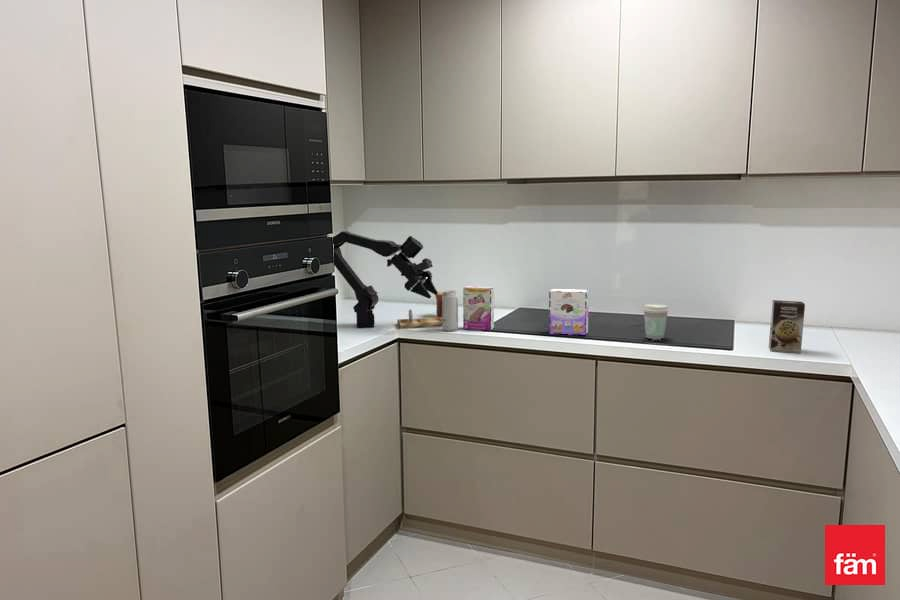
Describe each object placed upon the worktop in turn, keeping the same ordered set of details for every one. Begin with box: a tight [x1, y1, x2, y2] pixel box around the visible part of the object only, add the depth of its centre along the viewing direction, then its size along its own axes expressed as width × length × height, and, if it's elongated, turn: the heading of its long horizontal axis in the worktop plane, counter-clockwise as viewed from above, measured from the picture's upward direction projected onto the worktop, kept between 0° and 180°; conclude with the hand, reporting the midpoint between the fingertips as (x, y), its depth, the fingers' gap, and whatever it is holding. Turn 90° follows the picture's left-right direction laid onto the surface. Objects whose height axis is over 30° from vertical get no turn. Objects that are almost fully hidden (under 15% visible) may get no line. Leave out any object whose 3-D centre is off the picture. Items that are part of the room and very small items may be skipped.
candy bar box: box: [462, 285, 495, 332], centre depth 252 cm, size 11×5×16 cm, turn 72°
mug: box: [434, 291, 444, 318], centre depth 276 cm, size 12×9×10 cm
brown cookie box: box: [768, 299, 806, 354], centre depth 215 cm, size 9×6×16 cm
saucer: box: [408, 308, 414, 323], centre depth 260 cm, size 1×6×6 cm, turn 12°
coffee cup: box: [642, 303, 669, 339], centre depth 233 cm, size 8×8×12 cm
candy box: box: [548, 288, 590, 336], centre depth 243 cm, size 14×6×16 cm, turn 70°
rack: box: [396, 317, 442, 330], centre depth 262 cm, size 18×9×2 cm, turn 102°
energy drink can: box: [441, 290, 459, 333], centre depth 251 cm, size 6×6×15 cm
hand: (433, 295), depth 252 cm, fingers open, 9 cm apart
